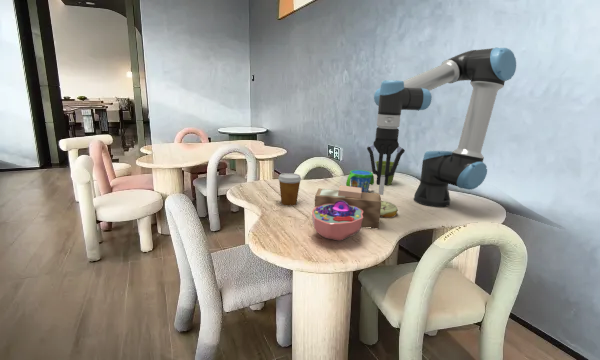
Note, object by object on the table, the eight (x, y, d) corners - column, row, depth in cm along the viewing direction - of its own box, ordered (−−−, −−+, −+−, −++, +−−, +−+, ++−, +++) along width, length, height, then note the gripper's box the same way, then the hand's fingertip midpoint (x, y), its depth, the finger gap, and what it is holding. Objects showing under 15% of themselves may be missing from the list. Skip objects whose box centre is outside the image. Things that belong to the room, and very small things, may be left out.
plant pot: (398, 187, 179) (401, 165, 176) (375, 186, 179) (377, 164, 176) (393, 181, 190) (395, 161, 187) (371, 180, 190) (373, 160, 187)
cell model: (298, 239, 111) (299, 205, 108) (327, 221, 128) (329, 191, 125) (346, 254, 103) (349, 218, 100) (371, 232, 119) (374, 201, 116)
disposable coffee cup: (303, 202, 148) (305, 174, 145) (294, 208, 140) (295, 179, 137) (284, 198, 152) (284, 171, 149) (273, 204, 144) (274, 176, 141)
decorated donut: (382, 220, 131) (383, 210, 130) (361, 211, 141) (361, 201, 140) (402, 215, 138) (403, 205, 137) (380, 207, 147) (381, 197, 146)
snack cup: (366, 188, 173) (367, 168, 171) (379, 194, 164) (381, 173, 162) (339, 191, 167) (340, 170, 164) (352, 197, 157) (353, 175, 155)
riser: (377, 218, 132) (380, 193, 130) (378, 228, 123) (381, 201, 120) (317, 213, 136) (318, 187, 133) (313, 222, 126) (315, 195, 124)
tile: (361, 187, 129) (339, 185, 130) (361, 193, 122) (338, 190, 123) (360, 193, 129) (339, 190, 131) (360, 198, 123) (337, 195, 124)
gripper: (368, 127, 116) (362, 195, 122) (409, 129, 114) (400, 198, 120) (368, 125, 123) (362, 189, 129) (406, 127, 121) (398, 192, 127)
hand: (380, 193), depth 125 cm, fingers closed
